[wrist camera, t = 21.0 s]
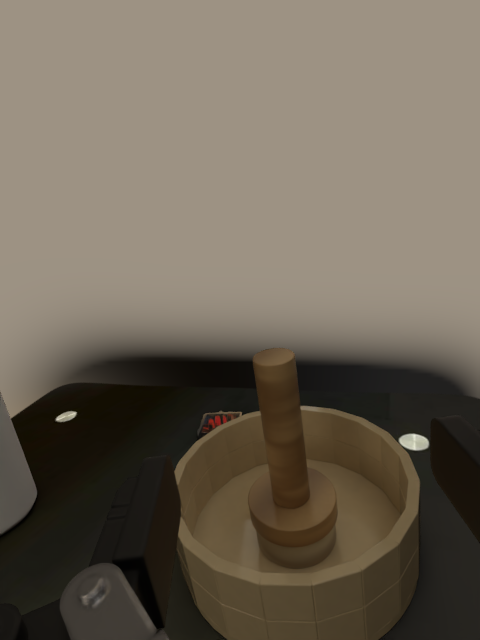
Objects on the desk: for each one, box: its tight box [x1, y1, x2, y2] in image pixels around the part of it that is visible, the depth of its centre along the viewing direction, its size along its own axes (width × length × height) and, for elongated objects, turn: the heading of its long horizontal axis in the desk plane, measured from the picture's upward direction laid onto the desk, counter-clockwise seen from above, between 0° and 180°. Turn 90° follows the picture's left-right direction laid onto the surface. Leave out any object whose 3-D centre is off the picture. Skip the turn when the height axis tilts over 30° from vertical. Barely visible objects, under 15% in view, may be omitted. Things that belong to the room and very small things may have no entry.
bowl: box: [174, 406, 420, 640], centre depth 24 cm, size 14×14×5 cm
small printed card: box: [197, 411, 242, 440], centre depth 38 cm, size 5×5×1 cm
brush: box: [248, 348, 338, 569], centre depth 23 cm, size 5×5×12 cm
